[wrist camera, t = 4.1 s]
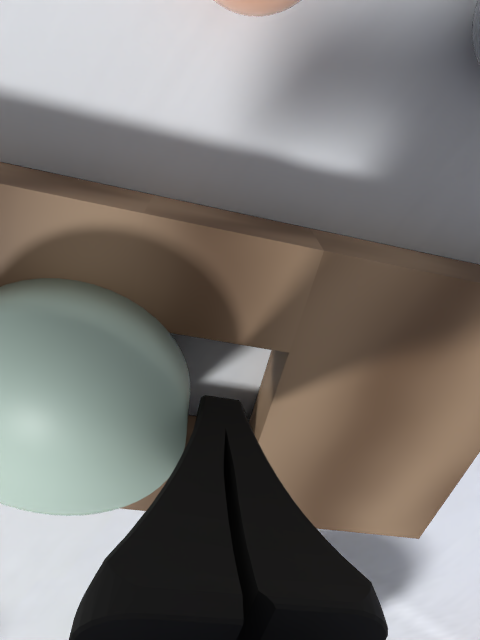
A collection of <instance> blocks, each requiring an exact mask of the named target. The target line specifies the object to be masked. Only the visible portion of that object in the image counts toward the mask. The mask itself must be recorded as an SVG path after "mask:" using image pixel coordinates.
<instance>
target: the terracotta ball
mask: <svg viewBox="0 0 480 640" xmlns="http://www.w3.org/2000/svg"><path fill="white" fill-rule="evenodd" d="M214 1H215V2H216V3H218V4H219V5H220V6H222V7H224V8H226V9H227V10H229V11H232V12H235V13H237V14H241V15H246V16H256V17H260V16H269V15H273V14H276V13H279V12H282V11H284V10H286V9H288V8H291V7H292V6H294V5H295V4H297V3H298V2H300V1H301V0H214Z"/></svg>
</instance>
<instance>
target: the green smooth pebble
mask: <svg viewBox="0 0 480 640" xmlns="http://www.w3.org/2000/svg"><path fill="white" fill-rule="evenodd" d="M189 399H190V377H189V372H188V367H187V364H186V361H185V359H184V356H183V354H182V352H181V350H180V348H179V346H178V345H177V343H176V341H175V340H174V338H173V337H172V336H171V334H170V333H169V332H168V330H167V329H166V328H165V327H164V326H163V325H162V324H161V323H160V322H159V321H158V320H157V319H156V318H155V317H154V316H152V315H151V314H150V313H149V312H147V311H146V310H145V309H144V308H142V307H141V306H139V305H138V304H136V303H134V302H133V301H131V300H130V299H128V298H126V297H124V296H122V295H120V294H118V293H115V292H113V291H111V290H108V289H105V288H102V287H100V286H97V285H94V284H89V283H85V282H81V281H76V280H68V279H59V278H39V279H30V280H22V281H18V282H14V283H10V284H6V285H4V286H1V287H0V503H1V504H3V505H7V506H10V507H13V508H17V509H20V510H25V511H30V512H34V513H41V514H49V515H64V516H72V515H89V514H97V513H102V512H107V511H112V510H115V509H119V508H122V507H125V506H127V505H130V504H132V503H135V502H137V501H139V500H141V499H142V498H144V497H146V496H148V495H150V494H151V493H152V492H154V491H155V490H156V489H158V488H159V487H160V486H161V485H162V484H163V483H164V482H165V481H166V480H167V479H168V478H169V477H170V475H171V474H172V472H173V470H174V469H175V467H176V465H177V463H178V461H179V460H180V458H181V456H182V454H183V451H184V448H185V443H186V435H187V423H188V411H189Z"/></svg>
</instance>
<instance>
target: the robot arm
mask: <svg viewBox="0 0 480 640" xmlns="http://www.w3.org/2000/svg"><path fill="white" fill-rule="evenodd" d="M387 636H388V627H387V624H386V620H385V617H384V614H383V611H382V608H381V605H380V603H379V600H378V598H377V595H376V593H375V591H374V588H373V586H372V583H371V582H370V581H369V580H368V579H367V578H366V577H365V576H364V575H362V574H361V573H360V572H359V571H358V570H357V569H356V568H355V567H354V566H353V565H351V564H350V563H349V562H348V561H347V560H346V559H345V558H344V557H343V556H342V555H341V554H340V553H339V552H338V551H337V550H336V549H335V548H334V547H333V546H332V545H331V544H330V543H329V542H328V541H327V540H326V539H325V538H324V537H323V536H322V535H321V533H320V532H319V531H318V530H317V529H316V528H315V526H314V525H313V524H312V523H311V522H310V521H309V519H308V518H307V517H306V516H305V515H304V513H303V512H302V511H301V510H300V508H299V507H298V506H297V504H296V503H295V502H294V500H293V499H292V498H291V496H290V495H289V493H288V492H287V490H286V489H285V488H284V486H283V484H282V483H281V481H280V480H279V478H278V477H277V475H276V473H275V472H274V470H273V468H272V467H271V465H270V463H269V462H268V460H267V458H266V456H265V454H264V452H263V451H262V449H261V447H260V445H259V443H258V441H257V439H256V437H255V435H254V433H253V431H252V428H251V426H250V424H249V422H248V419H247V417H246V415H245V412H244V410H243V407H242V404H241V403H240V401H239V400H234V399H227V398H220V397H213V396H207V395H205V396H203V397H201V400H200V404H199V408H198V413H197V417H196V421H195V425H194V430H193V432H192V434H191V437H190V439H189V442H188V444H187V446H186V448H185V450H184V452H183V454H182V456H181V458H180V460H179V461H178V463H177V465H176V467H175V469H174V470H173V472H172V474H171V475H170V477H169V479H168V480H167V482H166V483H165V485H164V487H163V488H162V489H161V491H160V492H159V494H158V495H157V497H156V498H155V500H154V501H153V503H152V504H151V505H150V507H149V508H148V509H147V511H146V512H145V513H144V514H143V516H142V517H141V518H140V519H139V521H138V522H137V523H136V524H135V526H134V527H133V528H132V529H131V531H130V532H129V533H128V534H127V535H126V537H125V538H124V539H123V540H122V541H121V542H120V543H119V544H118V545H117V546H116V547H115V549H114V550H113V551H112V552H111V553H110V554H109V555H108V556H107V557H106V558H105V560H104V561H103V563H102V565H101V567H100V568H99V570H98V572H97V573H96V575H95V577H94V578H93V580H92V582H91V584H90V585H89V587H88V589H87V591H86V593H85V594H84V596H83V598H82V600H81V602H80V605H79V607H78V609H77V612H76V615H75V618H74V621H73V625H72V629H71V633H70V637H69V640H386V638H387Z"/></svg>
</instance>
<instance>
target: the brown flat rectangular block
mask: <svg viewBox="0 0 480 640" xmlns="http://www.w3.org/2000/svg"><path fill="white" fill-rule="evenodd" d="M39 278H59V279H68V280H76V281H81V282H85V283H89V284H94V285H97V286H100V287H102V288H105V289H108V290H111V291H113V292H115V293H118V294H120V295H122V296H124V297H126V298H128V299H130V300H131V301H133V302H134V303H136V304H138V305H139V306H141V307H142V308H144V309H145V310H146V311H147V312H149V313H150V314H151V315H152V316H154V317H155V318H156V319H157V320H158V321H159V322H160V323H161V324H162V325H163V326H164V327H165V328H166V329H167V330H168V332H169V333H174V334H180V335H186V336H192V337H198V338H204V339H210V340H216V341H222V342H228V343H234V344H240V345H246V346H252V347H258V348H264V349H270V350H272V351H271V354H270V357H269V360H268V364H267V367H266V370H265V373H264V376H263V379H262V383H261V386H260V389H259V392H258V395H257V398H256V401H255V405H254V408H253V411H252V414H251V417H250V420H249V424H250V426H251V428H252V431H253V433H254V435H255V437H256V439H257V441H258V443H259V445H260V447H261V449H262V451H263V452H264V454H265V456H266V458H267V460H268V462H269V463H270V465H271V467H272V468H273V470H274V472H275V473H276V475H277V477H278V478H279V480H280V481H281V483H282V484H283V486H284V488H285V489H286V490H287V492H288V493H289V495H290V496H291V498H292V499H293V500H294V502H295V503H296V504H297V506H298V507H299V508H300V510H301V511H302V512H303V513H304V515H305V516H306V517H307V518H308V519H309V521H310V522H311V523H312V524H313V525H314V526H315V528H318V529H328V530H338V531H348V532H357V533H367V534H377V535H387V536H397V537H407V538H416V539H419V538H420V536H421V535H422V533H423V532H424V531H425V529H426V528H427V526H428V525H429V523H430V522H431V521H432V519H433V518H434V516H435V515H436V513H437V512H438V511H439V509H440V508H441V506H442V505H443V503H444V502H445V501H446V499H447V498H448V496H449V495H450V493H451V492H452V491H453V489H454V488H455V486H456V485H457V483H458V482H459V481H460V479H461V478H462V476H463V475H464V474H465V472H466V471H467V469H468V468H469V466H470V465H471V464H472V462H473V461H474V459H475V458H476V456H477V455H478V454H479V452H480V265H478V264H474V263H469V262H464V261H460V260H455V259H450V258H446V257H441V256H436V255H432V254H427V253H422V252H418V251H413V250H408V249H404V248H399V247H394V246H390V245H385V244H380V243H376V242H371V241H366V240H362V239H357V238H352V237H348V236H343V235H338V234H334V233H329V232H324V231H320V230H315V229H310V228H306V227H301V226H296V225H292V224H287V223H282V222H278V221H273V220H268V219H264V218H259V217H254V216H250V215H245V214H240V213H236V212H231V211H226V210H222V209H217V208H212V207H208V206H203V205H198V204H194V203H189V202H184V201H180V200H175V199H170V198H166V197H161V196H157V195H152V194H147V193H143V192H138V191H133V190H129V189H124V188H119V187H115V186H110V185H105V184H101V183H96V182H91V181H87V180H82V179H77V178H73V177H68V176H63V175H59V174H54V173H49V172H45V171H40V170H35V169H31V168H26V167H21V166H17V165H12V164H7V163H3V162H0V287H1V286H4V285H6V284H10V283H14V282H18V281H22V280H30V279H39ZM196 417H197V416H191V415H188V423H187V435H186V443H185V448H186V446H187V444H188V442H189V439H190V437H191V434H192V432H193V430H194V425H195V421H196ZM185 448H184V450H185ZM183 452H184V451H183ZM168 479H169V478H168ZM168 479H167V480H168ZM167 480H166V481H165V482H164V483H163V484H162V485H161V486H160V487H159V488H158V489H156V490H155V491H154V492H152V493H151V494H150V495H148V496H146V497H144V498H142V499H141V500H139V501H137V502H135V503H132V504H130V505H127V506H125V507H122V509H132V510H142V511H147V509H148V508H149V507H150V505H151V504H152V503H153V501H154V500H155V498H156V497H157V495H158V494H159V492H160V491H161V489H162V488H163V487H164V485H165V483H166V482H167Z"/></svg>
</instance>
